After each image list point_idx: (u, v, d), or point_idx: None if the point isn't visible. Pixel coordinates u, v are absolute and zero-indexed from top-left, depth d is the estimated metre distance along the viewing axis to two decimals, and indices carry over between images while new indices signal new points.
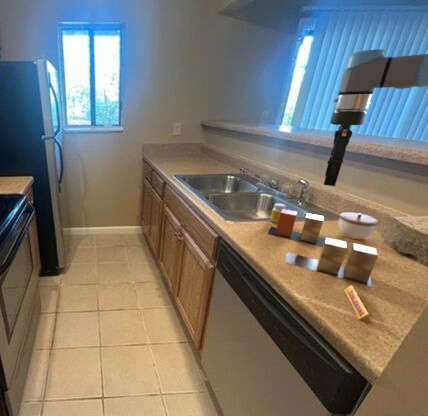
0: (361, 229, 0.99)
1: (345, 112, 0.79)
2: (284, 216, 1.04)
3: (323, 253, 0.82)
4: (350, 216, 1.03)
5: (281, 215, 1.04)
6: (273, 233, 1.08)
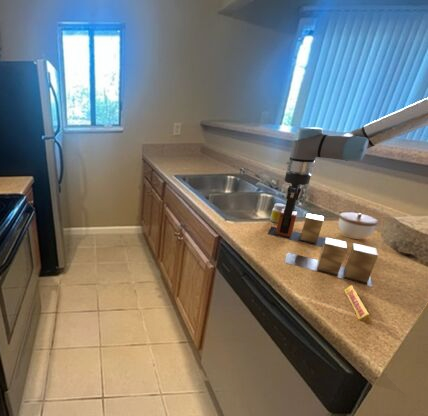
0: (361, 229, 0.99)
1: (294, 174, 0.97)
2: None
3: (323, 253, 0.82)
4: (350, 216, 1.03)
5: None
6: (273, 233, 1.08)
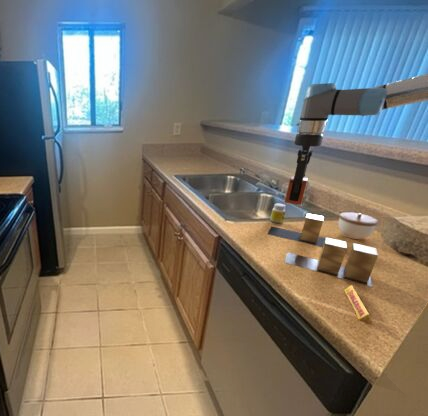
0: (361, 229, 0.99)
1: (305, 135, 0.91)
2: None
3: (323, 253, 0.82)
4: (350, 216, 1.03)
5: (290, 181, 0.98)
6: (273, 233, 1.08)
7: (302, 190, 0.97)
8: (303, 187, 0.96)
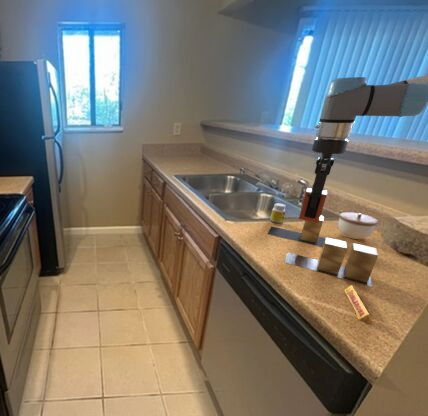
0: (361, 229, 0.99)
1: (326, 140, 0.75)
2: None
3: (323, 253, 0.82)
4: (350, 216, 1.03)
5: (306, 195, 0.82)
6: (273, 233, 1.08)
7: (320, 205, 0.81)
8: (322, 202, 0.81)
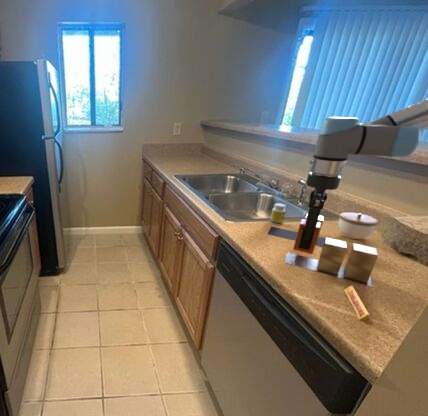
0: (361, 229, 0.99)
1: (319, 176, 0.77)
2: None
3: (323, 253, 0.82)
4: (350, 216, 1.03)
5: (301, 227, 0.84)
6: (273, 233, 1.08)
7: (314, 238, 0.83)
8: (315, 235, 0.82)
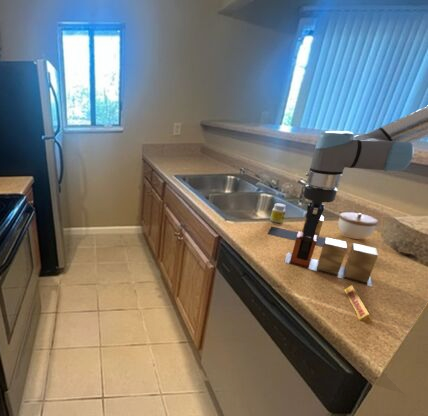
0: (361, 229, 0.99)
1: (316, 189, 0.78)
2: None
3: (323, 253, 0.82)
4: (350, 216, 1.03)
5: (297, 240, 0.86)
6: (273, 233, 1.08)
7: (310, 251, 0.84)
8: (312, 248, 0.84)
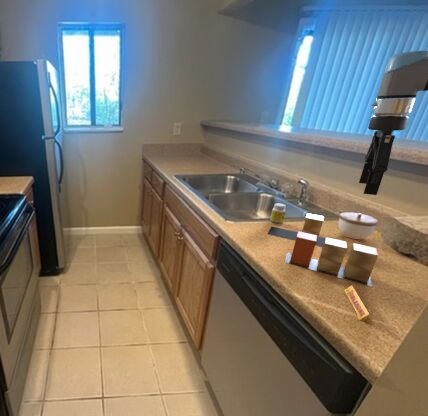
0: (361, 229, 0.99)
1: (386, 117, 0.74)
2: (301, 241, 0.85)
3: (323, 253, 0.82)
4: (350, 216, 1.03)
5: (297, 240, 0.86)
6: (273, 233, 1.08)
7: (310, 251, 0.84)
8: (312, 248, 0.84)
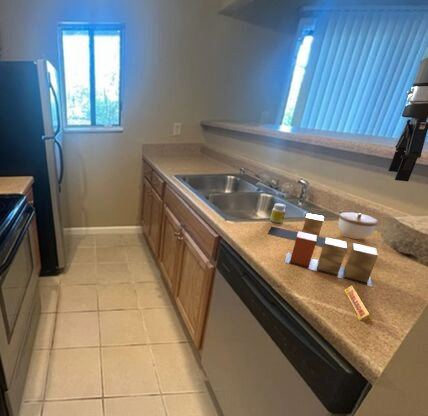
0: (361, 229, 0.99)
1: (422, 104, 0.76)
2: (301, 241, 0.85)
3: (323, 253, 0.82)
4: (350, 216, 1.03)
5: (297, 240, 0.86)
6: (273, 233, 1.08)
7: (310, 251, 0.84)
8: (312, 248, 0.84)
